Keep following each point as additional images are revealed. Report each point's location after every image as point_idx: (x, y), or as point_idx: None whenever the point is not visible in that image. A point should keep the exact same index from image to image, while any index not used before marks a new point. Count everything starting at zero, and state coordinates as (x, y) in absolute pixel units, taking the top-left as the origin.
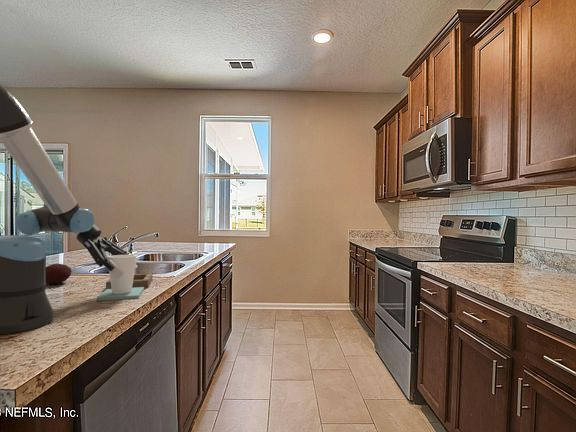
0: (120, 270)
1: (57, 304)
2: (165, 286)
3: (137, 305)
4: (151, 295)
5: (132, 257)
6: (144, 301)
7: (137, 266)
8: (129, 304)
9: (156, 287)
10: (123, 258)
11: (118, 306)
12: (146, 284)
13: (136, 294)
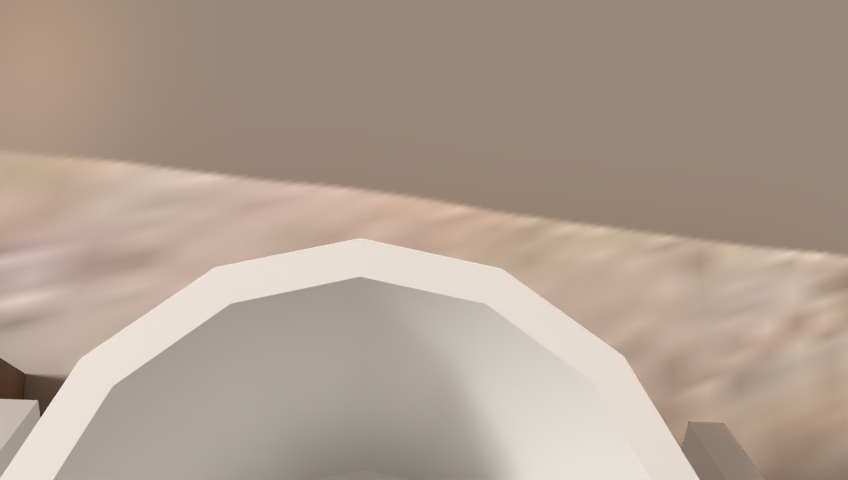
0: (752, 465)
1: None
2: (13, 191)
3: (768, 278)
4: (423, 245)
5: (507, 282)
6: (641, 254)
7: (32, 400)
8: (744, 357)
9: (38, 277)
10: (664, 441)
11: (815, 437)
12: (7, 381)
13: None
